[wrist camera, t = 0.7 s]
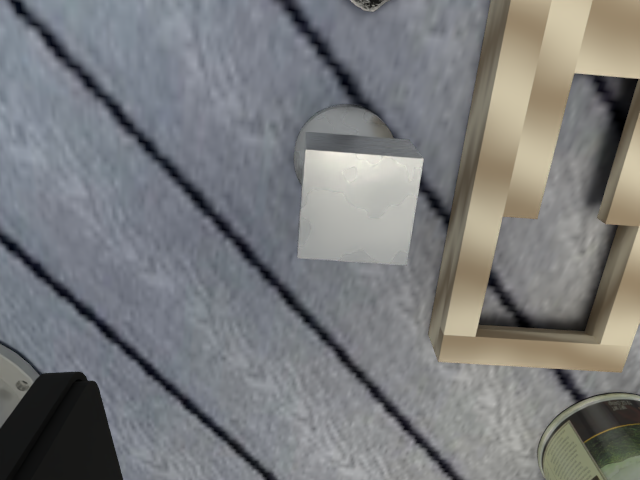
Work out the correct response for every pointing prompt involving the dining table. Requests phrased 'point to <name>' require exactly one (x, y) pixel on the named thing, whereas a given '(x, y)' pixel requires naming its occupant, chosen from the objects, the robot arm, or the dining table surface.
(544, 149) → the keyhole plate
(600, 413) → the coffee can
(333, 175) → the keyhole peg
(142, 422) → the dining table surface
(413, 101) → the dining table surface
